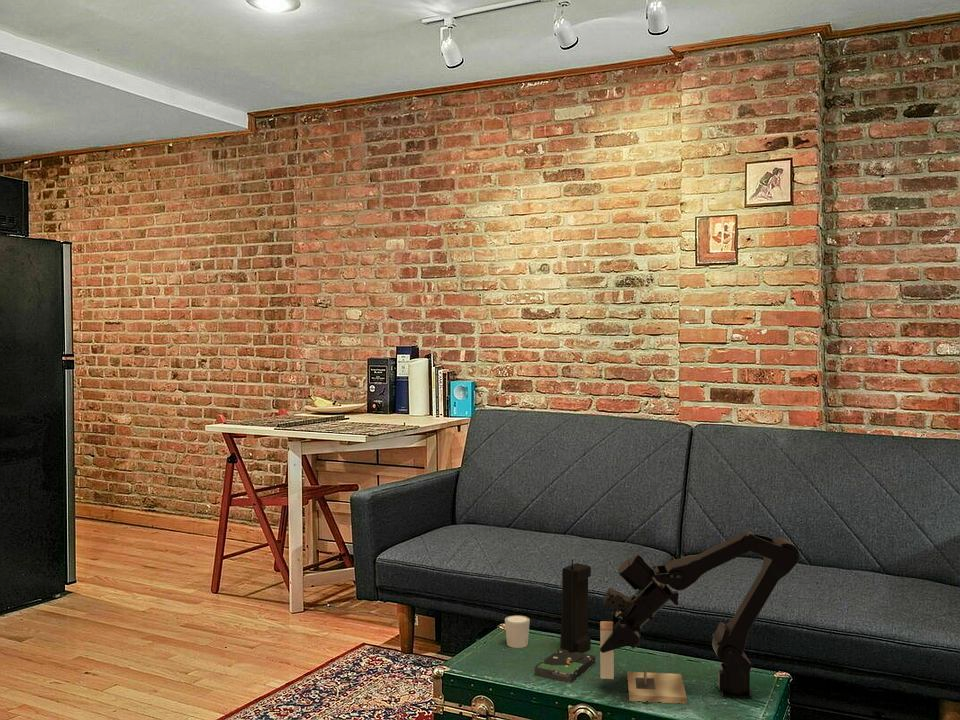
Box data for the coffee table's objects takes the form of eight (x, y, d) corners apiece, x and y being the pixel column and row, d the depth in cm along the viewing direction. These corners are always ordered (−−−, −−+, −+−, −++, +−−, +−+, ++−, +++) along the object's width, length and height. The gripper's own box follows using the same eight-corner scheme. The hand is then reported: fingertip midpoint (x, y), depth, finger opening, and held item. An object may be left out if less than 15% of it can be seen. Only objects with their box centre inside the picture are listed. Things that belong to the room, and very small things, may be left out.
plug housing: (613, 670, 215) (613, 621, 214) (613, 679, 210) (613, 628, 209) (600, 670, 215) (600, 621, 215) (600, 678, 210) (600, 628, 210)
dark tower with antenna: (574, 642, 243) (574, 552, 242) (593, 647, 239) (593, 556, 239) (558, 650, 237) (558, 558, 236) (577, 656, 233) (577, 562, 233)
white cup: (518, 638, 247) (518, 613, 247) (535, 644, 242) (535, 619, 242) (499, 643, 243) (499, 618, 243) (516, 650, 238) (516, 624, 237)
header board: (680, 680, 217) (681, 661, 217) (686, 703, 203) (686, 684, 203) (627, 677, 219) (627, 659, 219) (629, 701, 205) (629, 681, 205)
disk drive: (559, 658, 233) (533, 677, 221) (559, 648, 233) (533, 665, 220) (595, 666, 228) (571, 685, 215) (596, 655, 228) (572, 673, 215)
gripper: (622, 568, 220) (577, 610, 222) (624, 589, 202) (576, 635, 204) (654, 600, 220) (609, 642, 221) (659, 625, 201) (610, 671, 203)
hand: (601, 647), depth 212 cm, fingers closed on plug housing, 5 cm apart
